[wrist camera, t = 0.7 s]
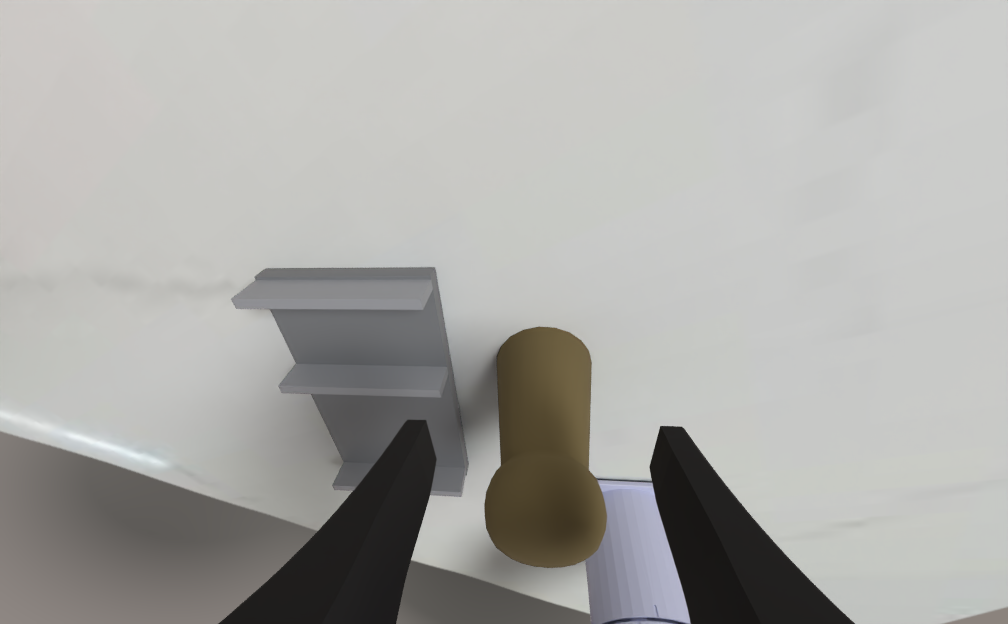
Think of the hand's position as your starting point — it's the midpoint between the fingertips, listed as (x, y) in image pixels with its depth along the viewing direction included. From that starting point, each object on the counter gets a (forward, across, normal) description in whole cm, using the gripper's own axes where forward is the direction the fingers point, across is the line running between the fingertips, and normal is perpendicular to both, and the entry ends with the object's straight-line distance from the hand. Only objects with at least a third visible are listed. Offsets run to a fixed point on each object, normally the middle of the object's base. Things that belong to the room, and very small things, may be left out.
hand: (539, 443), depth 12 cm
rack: (+10, +11, +8) cm, 17 cm away
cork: (+11, 0, +6) cm, 12 cm away
